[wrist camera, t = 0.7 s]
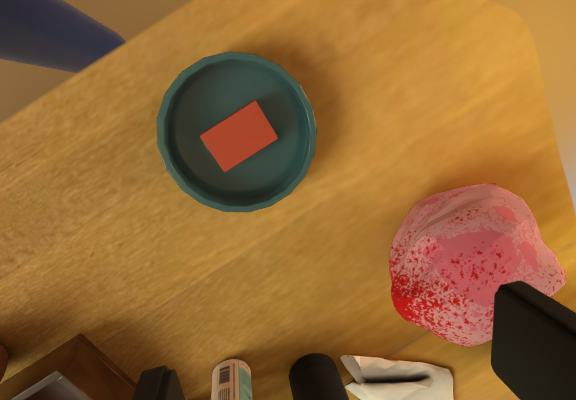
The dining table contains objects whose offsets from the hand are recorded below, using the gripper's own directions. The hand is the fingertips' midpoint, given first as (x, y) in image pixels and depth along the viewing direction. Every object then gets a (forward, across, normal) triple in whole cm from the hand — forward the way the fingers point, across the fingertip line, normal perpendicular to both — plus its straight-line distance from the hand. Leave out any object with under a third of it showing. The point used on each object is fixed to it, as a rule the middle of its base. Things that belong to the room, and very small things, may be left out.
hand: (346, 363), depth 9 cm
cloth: (+27, -15, +36) cm, 48 cm away
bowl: (+27, +2, -4) cm, 27 cm away
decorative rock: (+27, -19, +11) cm, 35 cm away
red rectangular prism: (+26, +2, -4) cm, 26 cm away
